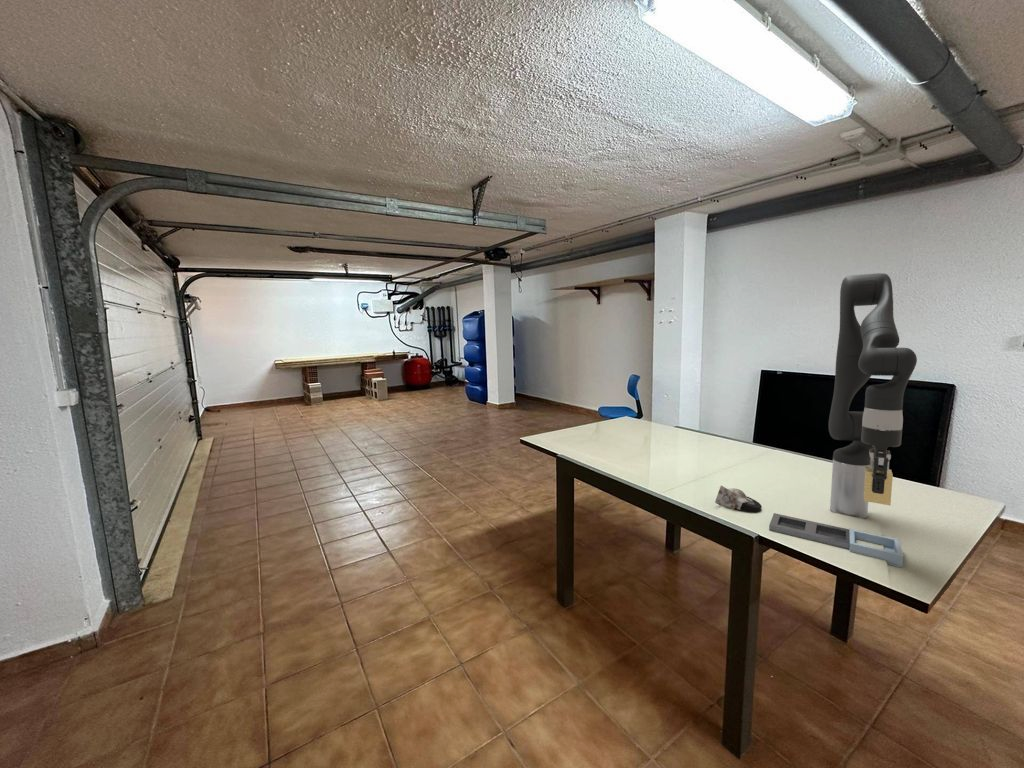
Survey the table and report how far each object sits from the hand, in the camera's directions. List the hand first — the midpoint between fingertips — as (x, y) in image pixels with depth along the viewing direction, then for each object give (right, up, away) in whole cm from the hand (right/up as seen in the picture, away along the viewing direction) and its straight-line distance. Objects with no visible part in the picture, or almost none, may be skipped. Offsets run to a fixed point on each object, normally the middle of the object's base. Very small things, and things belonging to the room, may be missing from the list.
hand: (877, 489), depth 102 cm
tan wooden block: (0, -3, 0) cm, 3 cm away
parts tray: (+1, -17, +2) cm, 17 cm away
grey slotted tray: (-9, -17, +12) cm, 22 cm away
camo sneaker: (-18, -15, +30) cm, 38 cm away
